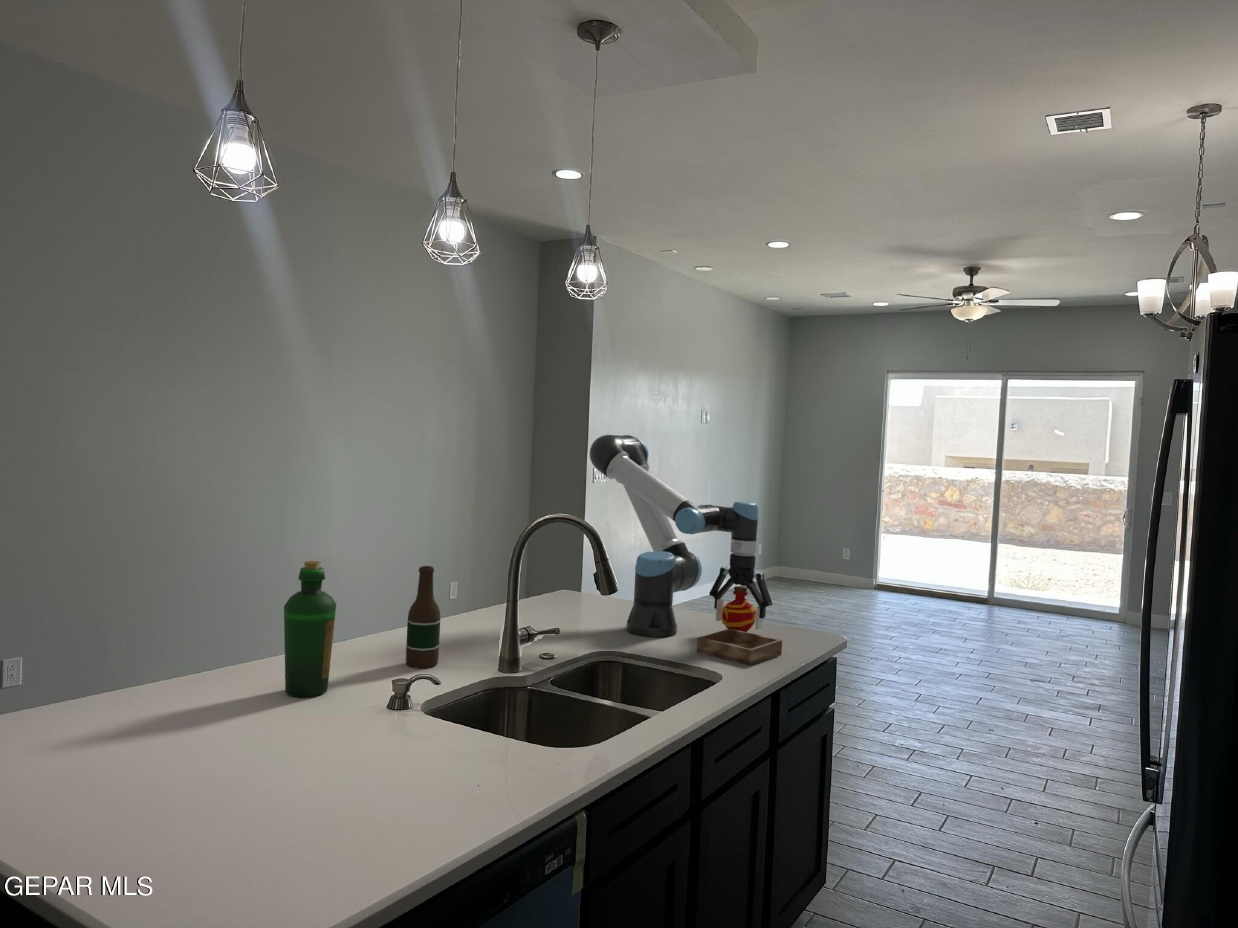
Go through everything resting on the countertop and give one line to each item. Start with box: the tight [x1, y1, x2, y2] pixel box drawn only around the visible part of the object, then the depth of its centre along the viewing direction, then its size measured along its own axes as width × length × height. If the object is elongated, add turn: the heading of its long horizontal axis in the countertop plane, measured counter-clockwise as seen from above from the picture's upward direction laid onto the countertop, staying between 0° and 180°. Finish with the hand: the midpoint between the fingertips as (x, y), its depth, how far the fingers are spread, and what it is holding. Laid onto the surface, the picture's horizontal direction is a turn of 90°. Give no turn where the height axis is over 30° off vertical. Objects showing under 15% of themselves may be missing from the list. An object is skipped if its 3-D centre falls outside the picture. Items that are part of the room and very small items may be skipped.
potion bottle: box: [721, 585, 756, 633], centre depth 256 cm, size 10×10×15 cm
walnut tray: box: [696, 628, 783, 666], centre depth 237 cm, size 17×17×4 cm
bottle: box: [283, 560, 337, 698], centre depth 183 cm, size 11×11×28 cm
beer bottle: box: [405, 565, 441, 670], centre depth 208 cm, size 8×8×24 cm
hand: (738, 624), depth 256 cm, fingers open, 13 cm apart
